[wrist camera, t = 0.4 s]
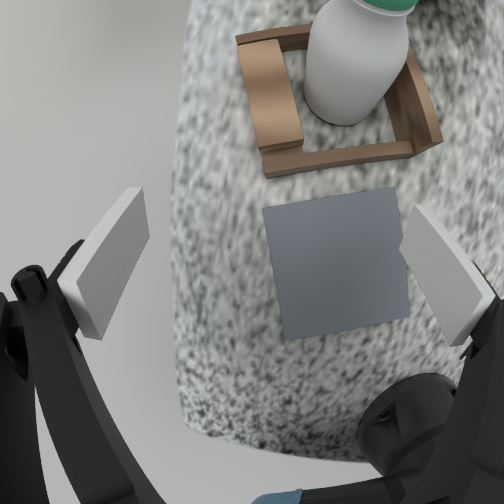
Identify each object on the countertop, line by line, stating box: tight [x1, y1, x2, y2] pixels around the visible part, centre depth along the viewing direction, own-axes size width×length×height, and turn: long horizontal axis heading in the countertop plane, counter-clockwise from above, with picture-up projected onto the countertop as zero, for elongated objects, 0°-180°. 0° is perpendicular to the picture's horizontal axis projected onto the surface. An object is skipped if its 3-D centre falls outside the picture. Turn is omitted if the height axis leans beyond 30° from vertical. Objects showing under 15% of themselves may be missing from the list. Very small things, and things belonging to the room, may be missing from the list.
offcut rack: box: [235, 24, 444, 179], centre depth 25 cm, size 16×16×8 cm
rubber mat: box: [262, 187, 409, 340], centre depth 30 cm, size 14×14×1 cm
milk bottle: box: [304, 0, 419, 126], centre depth 19 cm, size 8×8×20 cm
